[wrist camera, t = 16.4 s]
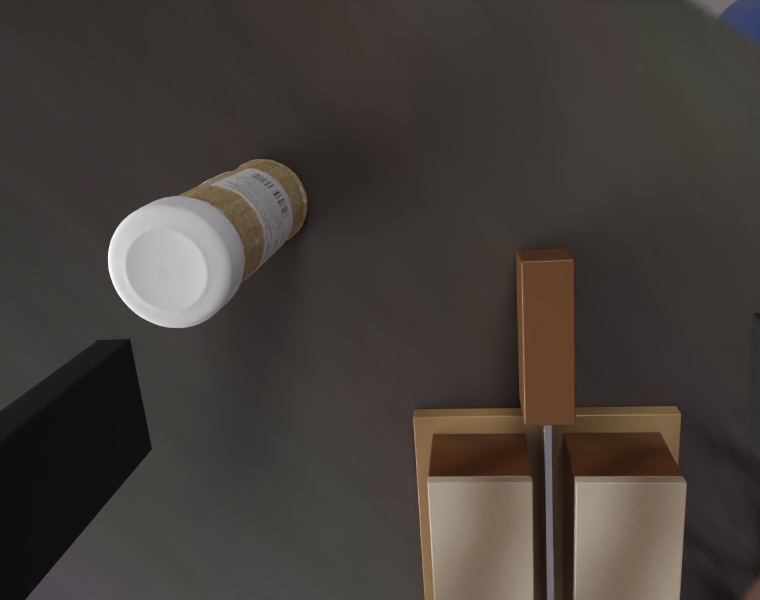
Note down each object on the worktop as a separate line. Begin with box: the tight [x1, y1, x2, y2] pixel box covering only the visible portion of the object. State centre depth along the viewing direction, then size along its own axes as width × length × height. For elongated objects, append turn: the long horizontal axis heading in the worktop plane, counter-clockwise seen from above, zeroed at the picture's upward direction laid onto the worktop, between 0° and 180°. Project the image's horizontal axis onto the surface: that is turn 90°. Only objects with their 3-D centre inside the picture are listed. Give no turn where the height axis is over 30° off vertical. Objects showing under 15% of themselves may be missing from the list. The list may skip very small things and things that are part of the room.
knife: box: [516, 248, 576, 600], centre depth 37 cm, size 23×2×4 cm, turn 4°
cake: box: [413, 406, 687, 600], centre depth 39 cm, size 14×14×6 cm
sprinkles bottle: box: [108, 159, 308, 328], centre depth 32 cm, size 5×5×13 cm
